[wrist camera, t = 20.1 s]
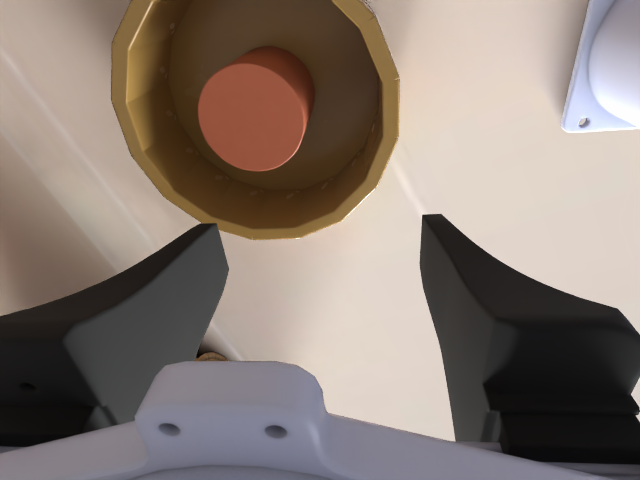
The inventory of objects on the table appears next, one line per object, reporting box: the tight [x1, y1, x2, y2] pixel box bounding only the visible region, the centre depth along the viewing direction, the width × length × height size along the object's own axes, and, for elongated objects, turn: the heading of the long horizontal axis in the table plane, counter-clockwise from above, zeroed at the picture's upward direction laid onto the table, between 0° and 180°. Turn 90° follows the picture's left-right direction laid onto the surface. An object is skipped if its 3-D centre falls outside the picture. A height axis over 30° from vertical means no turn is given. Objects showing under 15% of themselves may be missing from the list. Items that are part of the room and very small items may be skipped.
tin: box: [111, 0, 400, 240], centre depth 19 cm, size 12×12×5 cm
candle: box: [198, 46, 315, 171], centre depth 19 cm, size 5×5×5 cm
